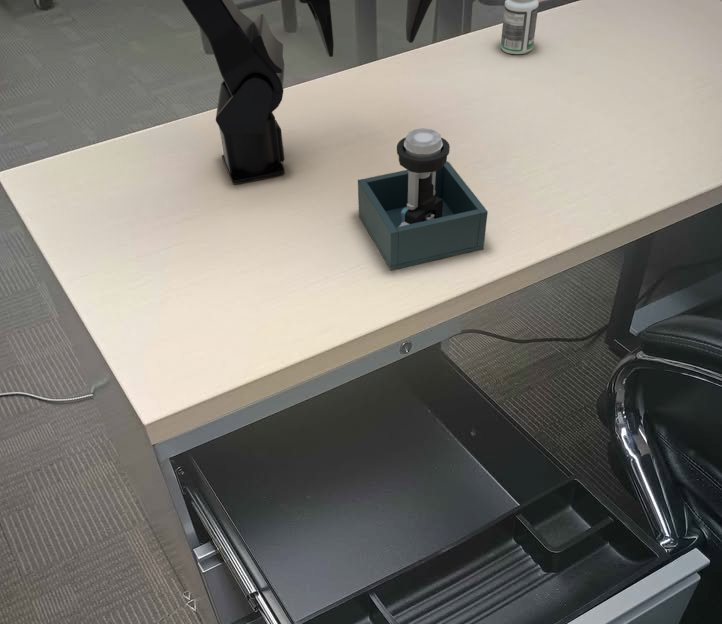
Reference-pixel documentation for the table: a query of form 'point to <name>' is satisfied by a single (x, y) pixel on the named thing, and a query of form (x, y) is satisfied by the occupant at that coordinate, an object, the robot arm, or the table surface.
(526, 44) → the pill bottle
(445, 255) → the bin
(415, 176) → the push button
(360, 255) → the table surface
